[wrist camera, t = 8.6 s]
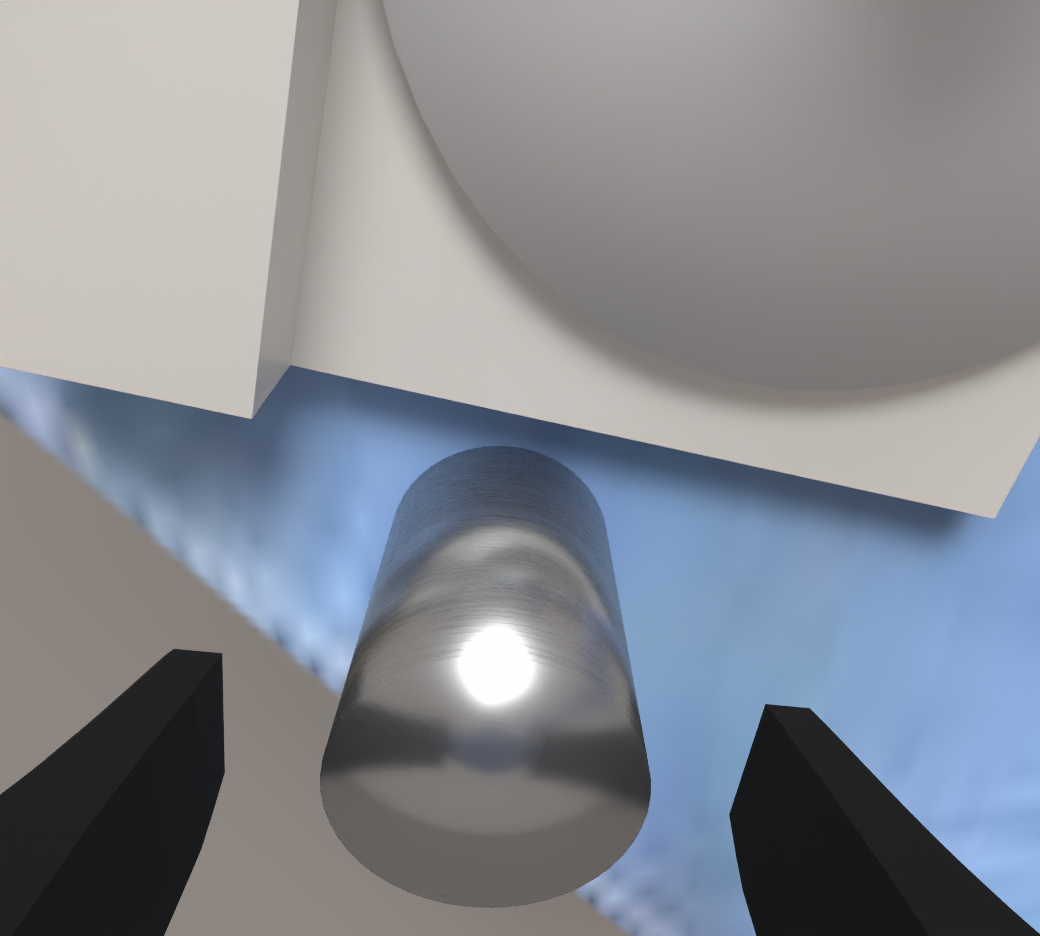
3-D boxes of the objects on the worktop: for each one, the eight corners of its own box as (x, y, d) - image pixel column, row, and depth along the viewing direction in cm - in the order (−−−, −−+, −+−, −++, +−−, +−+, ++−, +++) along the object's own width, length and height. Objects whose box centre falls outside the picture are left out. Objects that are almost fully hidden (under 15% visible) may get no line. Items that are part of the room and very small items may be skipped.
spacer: (636, 478, 15) (700, 704, 10) (570, 653, 17) (591, 932, 11) (418, 421, 15) (354, 624, 9) (371, 606, 16) (295, 873, 11)
